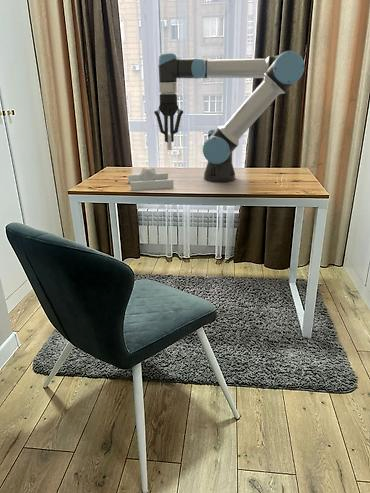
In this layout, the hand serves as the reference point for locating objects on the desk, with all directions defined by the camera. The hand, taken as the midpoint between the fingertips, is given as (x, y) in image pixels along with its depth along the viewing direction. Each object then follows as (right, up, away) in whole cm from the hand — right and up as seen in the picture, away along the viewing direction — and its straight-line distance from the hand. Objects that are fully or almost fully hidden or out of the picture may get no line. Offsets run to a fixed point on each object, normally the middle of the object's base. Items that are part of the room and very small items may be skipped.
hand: (169, 149), depth 180 cm
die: (-9, -16, +4) cm, 19 cm away
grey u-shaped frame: (-9, -15, +4) cm, 18 cm away
